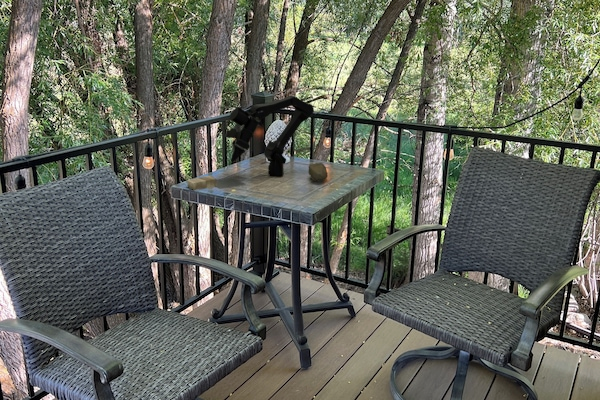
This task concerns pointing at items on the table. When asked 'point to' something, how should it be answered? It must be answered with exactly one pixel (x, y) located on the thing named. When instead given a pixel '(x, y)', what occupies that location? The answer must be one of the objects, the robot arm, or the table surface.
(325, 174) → the stone
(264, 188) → the table surface
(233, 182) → the rubber mat
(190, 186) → the maple block
